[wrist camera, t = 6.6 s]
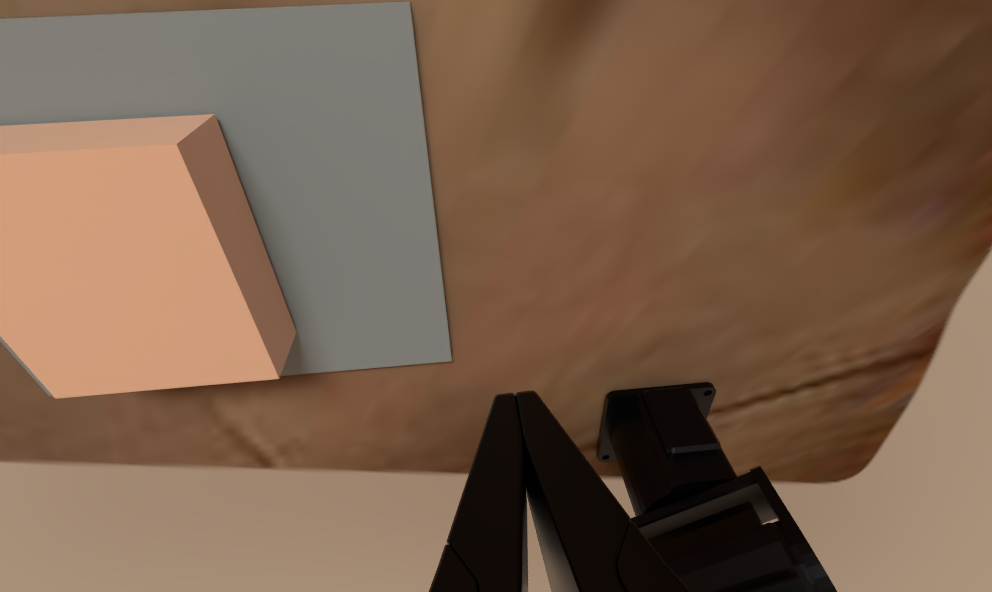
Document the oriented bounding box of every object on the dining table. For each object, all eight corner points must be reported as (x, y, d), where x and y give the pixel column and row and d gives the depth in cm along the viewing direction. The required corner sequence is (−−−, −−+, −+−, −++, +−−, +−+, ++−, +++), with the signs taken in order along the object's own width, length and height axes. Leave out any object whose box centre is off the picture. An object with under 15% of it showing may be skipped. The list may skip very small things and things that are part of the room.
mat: (451, 355, 25) (451, 361, 25) (54, 390, 24) (49, 396, 24) (410, 1, 15) (409, 2, 15) (-260, 29, 14) (-276, 32, 14)
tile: (279, 378, 20) (55, 398, 20) (297, 329, 23) (99, 345, 22) (176, 144, 14) (-153, 163, 13) (216, 112, 17) (-59, 127, 16)
